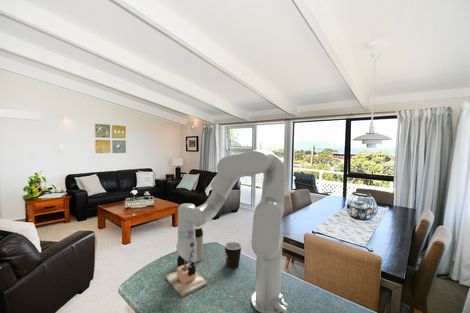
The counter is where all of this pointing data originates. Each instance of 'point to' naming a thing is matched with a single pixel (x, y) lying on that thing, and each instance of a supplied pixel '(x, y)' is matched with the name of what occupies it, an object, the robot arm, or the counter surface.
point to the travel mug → (199, 242)
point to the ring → (184, 275)
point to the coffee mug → (232, 254)
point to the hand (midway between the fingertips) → (186, 269)
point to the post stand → (187, 287)
